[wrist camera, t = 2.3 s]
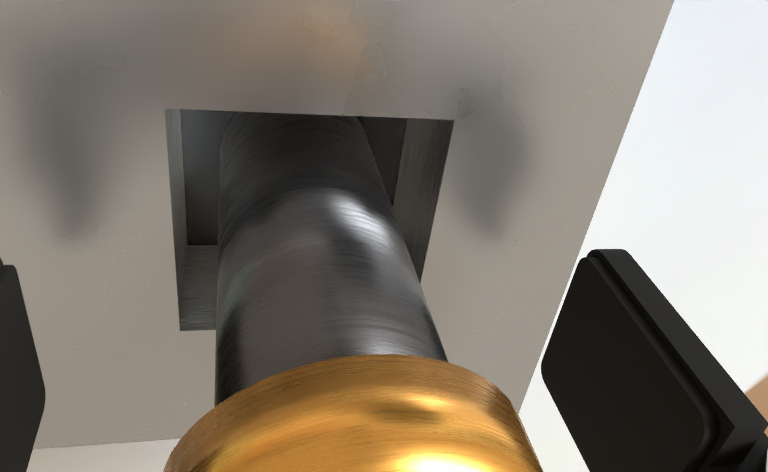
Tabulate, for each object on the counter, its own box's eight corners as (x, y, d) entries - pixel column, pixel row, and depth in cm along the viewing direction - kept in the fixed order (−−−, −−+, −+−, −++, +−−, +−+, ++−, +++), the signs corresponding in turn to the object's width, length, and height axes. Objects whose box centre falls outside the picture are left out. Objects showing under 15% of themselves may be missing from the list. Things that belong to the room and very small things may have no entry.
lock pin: (187, 54, 13) (124, 503, 5) (407, 66, 14) (630, 455, 6) (196, 238, 16) (163, 721, 8) (380, 237, 17) (514, 662, 9)
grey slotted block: (-68, -188, 10) (-159, -172, 8) (614, -102, 13) (700, -70, 11) (54, 353, 17) (25, 449, 15) (483, 335, 20) (518, 414, 17)
